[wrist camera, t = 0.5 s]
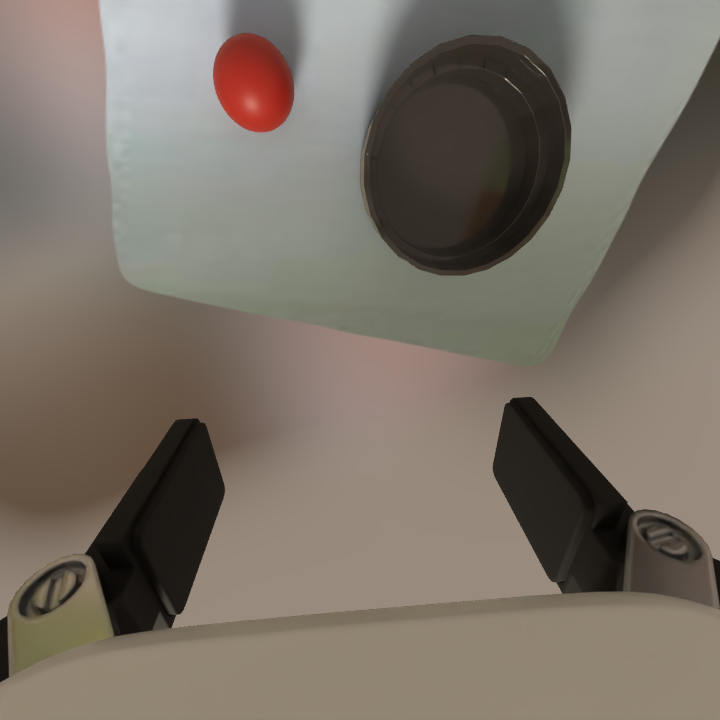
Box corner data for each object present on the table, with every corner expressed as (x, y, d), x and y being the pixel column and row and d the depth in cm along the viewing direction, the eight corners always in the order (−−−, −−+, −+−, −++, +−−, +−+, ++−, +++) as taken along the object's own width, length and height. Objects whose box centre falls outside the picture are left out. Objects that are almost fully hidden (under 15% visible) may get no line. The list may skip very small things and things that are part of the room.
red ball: (256, 28, 27) (236, -8, 22) (312, 96, 30) (306, 78, 24) (211, 93, 29) (183, 73, 24) (267, 152, 31) (253, 146, 26)
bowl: (467, 3, 28) (496, -36, 23) (567, 175, 34) (606, 174, 29) (322, 171, 32) (320, 169, 27) (433, 294, 39) (447, 311, 34)
